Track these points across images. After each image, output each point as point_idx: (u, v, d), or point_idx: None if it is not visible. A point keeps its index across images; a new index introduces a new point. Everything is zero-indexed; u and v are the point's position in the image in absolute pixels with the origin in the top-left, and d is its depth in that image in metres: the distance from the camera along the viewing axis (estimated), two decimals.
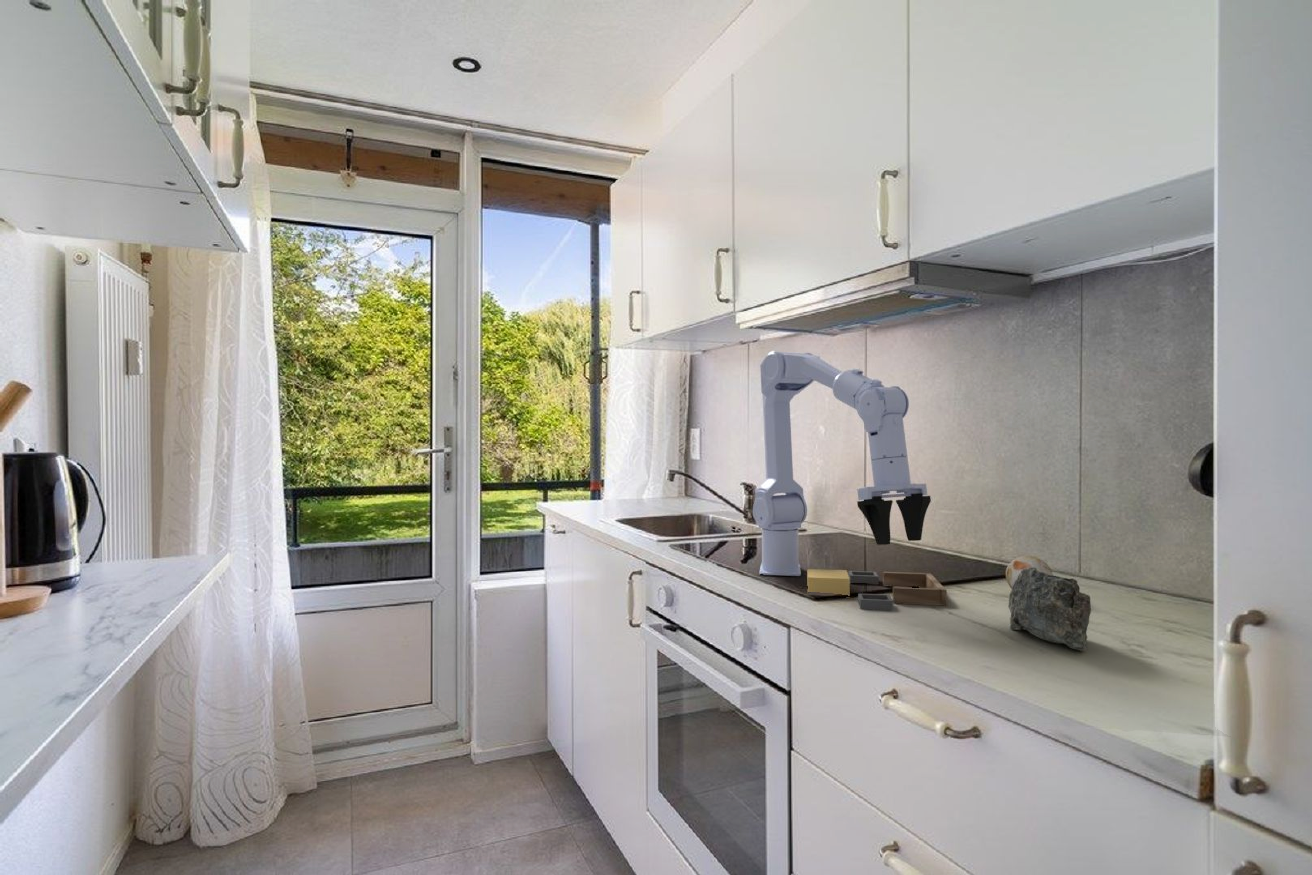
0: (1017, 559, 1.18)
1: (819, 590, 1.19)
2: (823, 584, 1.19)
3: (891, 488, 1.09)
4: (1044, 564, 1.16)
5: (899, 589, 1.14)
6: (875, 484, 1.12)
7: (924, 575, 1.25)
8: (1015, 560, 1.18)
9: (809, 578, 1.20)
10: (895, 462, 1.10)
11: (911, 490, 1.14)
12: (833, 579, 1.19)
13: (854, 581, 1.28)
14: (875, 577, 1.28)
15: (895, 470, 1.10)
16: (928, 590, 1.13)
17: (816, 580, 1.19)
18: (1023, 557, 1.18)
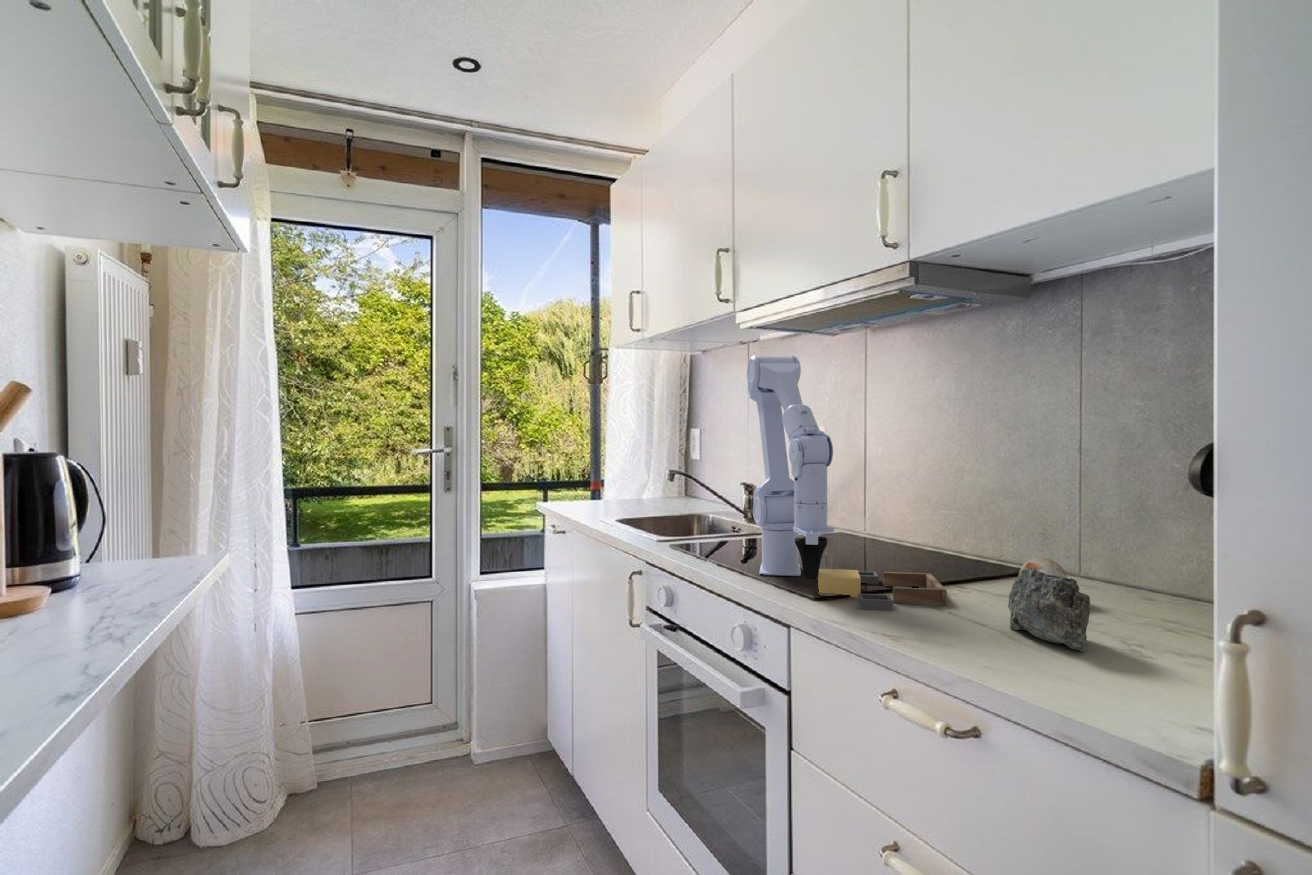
0: (1030, 561, 1.16)
1: (830, 590, 1.19)
2: (834, 583, 1.19)
3: (824, 532, 1.19)
4: (1058, 566, 1.14)
5: (899, 589, 1.14)
6: (803, 526, 1.21)
7: (924, 575, 1.25)
8: (1028, 562, 1.16)
9: (820, 577, 1.19)
10: (825, 507, 1.21)
11: None
12: (844, 579, 1.19)
13: None
14: (875, 577, 1.28)
15: (824, 515, 1.21)
16: (928, 590, 1.13)
17: (827, 580, 1.19)
18: (1036, 559, 1.16)
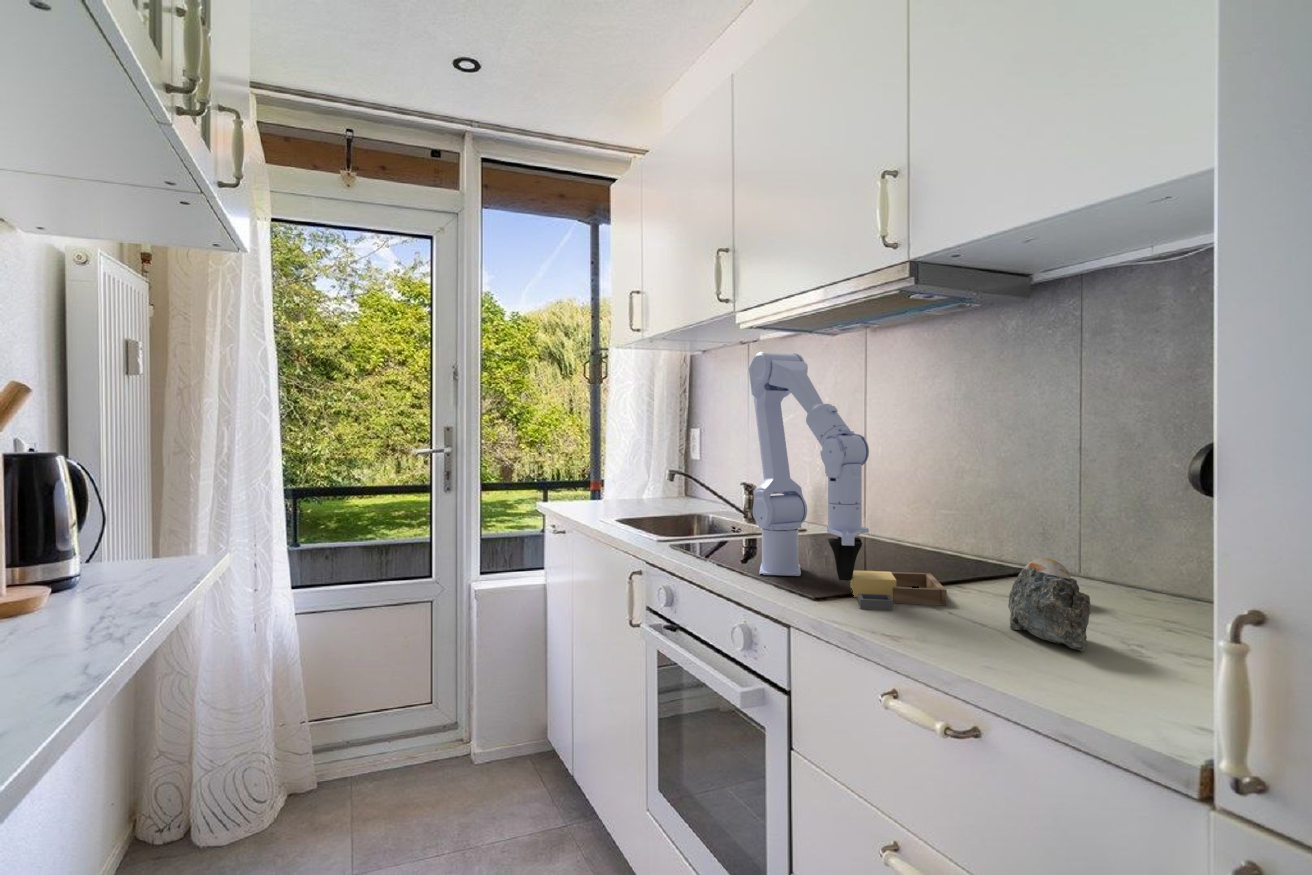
0: (1033, 561, 1.16)
1: (865, 592, 1.18)
2: (870, 585, 1.18)
3: (859, 533, 1.18)
4: (1061, 567, 1.13)
5: (899, 589, 1.14)
6: (838, 527, 1.19)
7: (924, 575, 1.25)
8: (1031, 562, 1.16)
9: (855, 579, 1.19)
10: (859, 508, 1.20)
11: None
12: (879, 580, 1.18)
13: None
14: None
15: (859, 515, 1.20)
16: (928, 590, 1.13)
17: (862, 581, 1.18)
18: (1039, 559, 1.15)
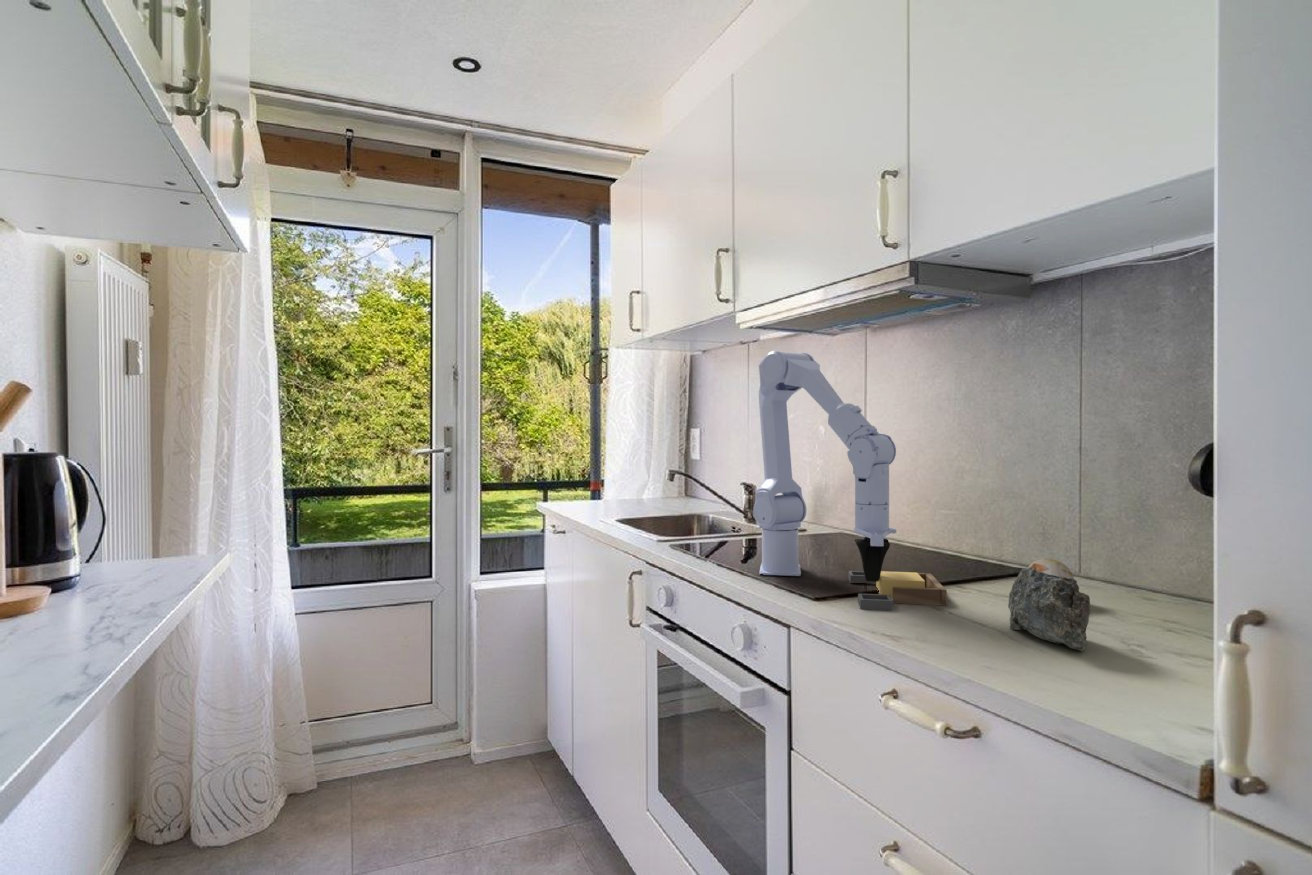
0: (1036, 562, 1.16)
1: None
2: (898, 586, 1.17)
3: (887, 534, 1.18)
4: (1064, 568, 1.13)
5: (899, 589, 1.14)
6: (866, 527, 1.19)
7: (924, 575, 1.25)
8: (1034, 563, 1.16)
9: (883, 580, 1.18)
10: (887, 508, 1.19)
11: None
12: (908, 581, 1.17)
13: (854, 581, 1.28)
14: None
15: (886, 516, 1.19)
16: (928, 590, 1.13)
17: (890, 582, 1.18)
18: (1042, 560, 1.15)
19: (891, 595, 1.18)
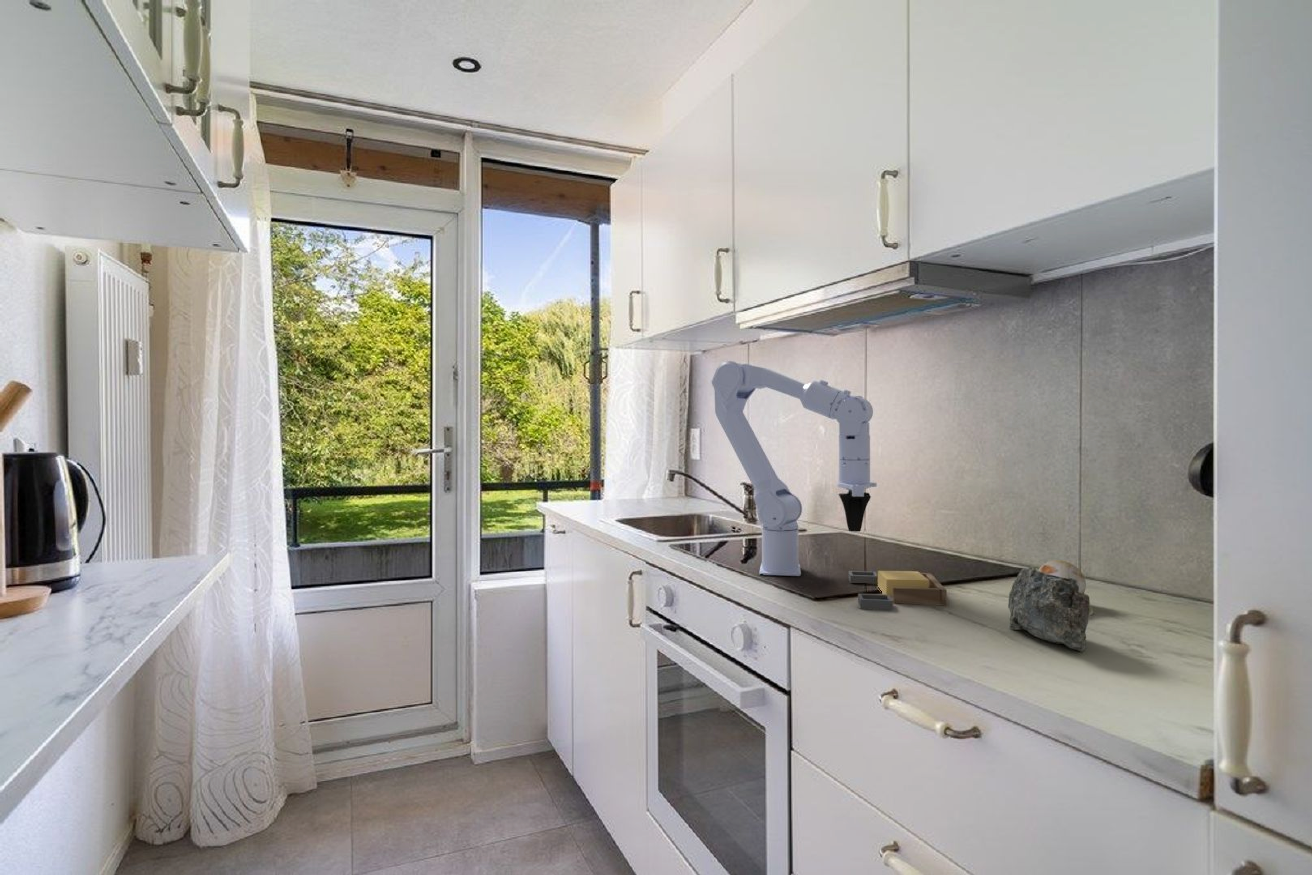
0: (1047, 563, 1.14)
1: None
2: (902, 586, 1.17)
3: (868, 486, 1.28)
4: (1075, 570, 1.11)
5: (899, 589, 1.14)
6: (848, 481, 1.29)
7: (924, 575, 1.25)
8: (1045, 564, 1.14)
9: (888, 580, 1.18)
10: (868, 464, 1.29)
11: None
12: (912, 581, 1.17)
13: (854, 581, 1.28)
14: (875, 577, 1.28)
15: (867, 470, 1.29)
16: (928, 590, 1.13)
17: (895, 582, 1.17)
18: (1053, 561, 1.14)
19: None
